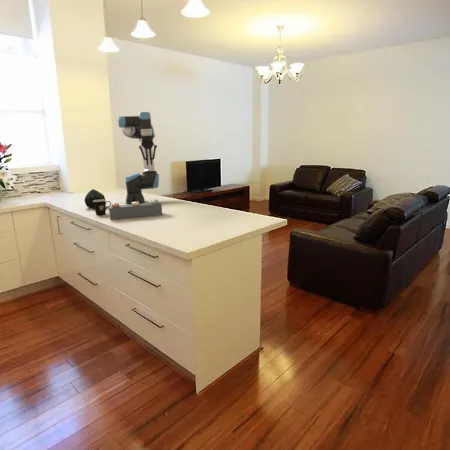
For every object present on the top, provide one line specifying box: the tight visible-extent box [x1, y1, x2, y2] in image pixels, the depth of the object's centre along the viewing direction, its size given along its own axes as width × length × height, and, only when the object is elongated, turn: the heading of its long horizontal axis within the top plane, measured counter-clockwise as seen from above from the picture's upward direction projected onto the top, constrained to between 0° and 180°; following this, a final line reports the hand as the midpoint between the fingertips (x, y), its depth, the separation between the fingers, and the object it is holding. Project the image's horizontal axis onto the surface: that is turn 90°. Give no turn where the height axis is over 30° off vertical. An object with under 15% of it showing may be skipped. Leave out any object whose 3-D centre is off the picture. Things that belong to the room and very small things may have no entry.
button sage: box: [150, 199, 160, 204], centre depth 232 cm, size 5×5×5 cm
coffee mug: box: [93, 199, 112, 216], centre depth 241 cm, size 12×9×10 cm
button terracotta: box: [110, 202, 120, 207], centre depth 227 cm, size 5×5×5 cm
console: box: [108, 201, 163, 221], centre depth 230 cm, size 34×7×8 cm, turn 103°
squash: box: [84, 188, 106, 209], centre depth 264 cm, size 14×15×15 cm
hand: (150, 169), depth 242 cm, fingers closed
